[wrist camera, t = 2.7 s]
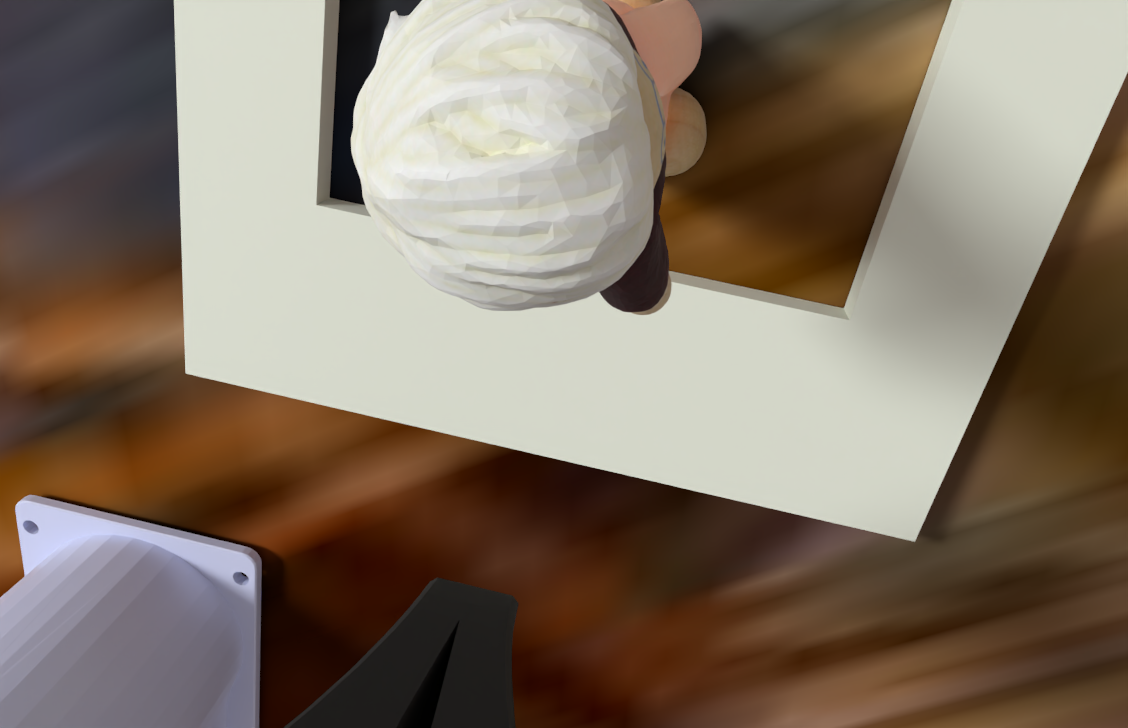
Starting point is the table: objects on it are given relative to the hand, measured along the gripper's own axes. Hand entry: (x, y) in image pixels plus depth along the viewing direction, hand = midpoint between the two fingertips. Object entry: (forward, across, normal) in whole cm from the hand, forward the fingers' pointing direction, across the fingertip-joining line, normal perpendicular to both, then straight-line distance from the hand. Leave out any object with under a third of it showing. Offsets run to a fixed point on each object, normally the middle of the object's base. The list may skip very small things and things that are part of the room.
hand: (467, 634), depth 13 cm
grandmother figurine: (+10, 0, -8) cm, 13 cm away
